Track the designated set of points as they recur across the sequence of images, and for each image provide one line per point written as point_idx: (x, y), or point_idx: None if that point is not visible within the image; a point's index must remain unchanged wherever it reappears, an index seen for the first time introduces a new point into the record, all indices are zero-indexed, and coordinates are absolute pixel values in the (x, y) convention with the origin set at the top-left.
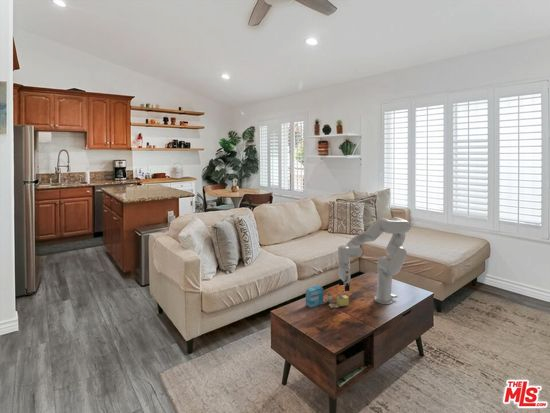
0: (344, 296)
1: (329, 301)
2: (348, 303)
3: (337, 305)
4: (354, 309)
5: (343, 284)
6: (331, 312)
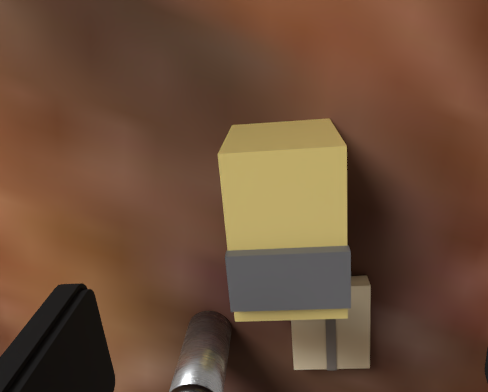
0: (270, 204)
1: (228, 350)
2: (332, 126)
3: None
4: (475, 75)
5: (85, 297)
6: (468, 381)
